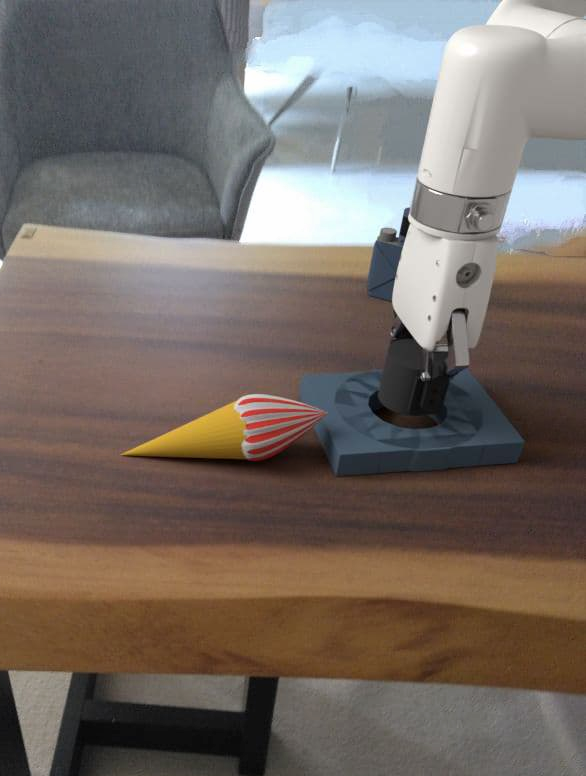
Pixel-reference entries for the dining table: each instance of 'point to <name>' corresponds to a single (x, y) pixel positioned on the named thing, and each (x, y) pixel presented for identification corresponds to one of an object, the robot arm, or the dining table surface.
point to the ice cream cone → (238, 430)
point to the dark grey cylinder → (402, 374)
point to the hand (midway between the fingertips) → (411, 392)
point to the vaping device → (386, 260)
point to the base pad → (402, 445)
